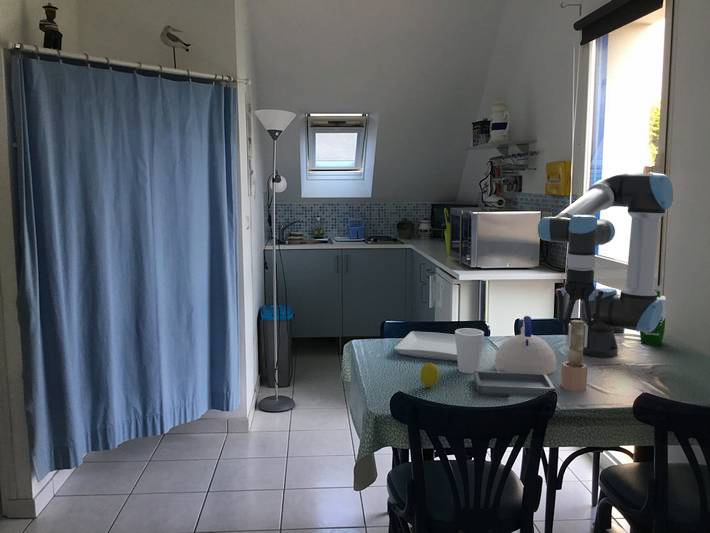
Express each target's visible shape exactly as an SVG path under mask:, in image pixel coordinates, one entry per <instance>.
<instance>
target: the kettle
mask: <svg viewBox="0 0 710 533" xmlns="http://www.w3.org/2000/svg"><path fill="white" fill-rule="evenodd" d="M522 319H523V320H522V321H523V322H522V327H520V334H517V335H513V336H511V337H509V338H507V339H506V340H504V341H503V342H502V344H501V345H500V346H498V349H497V351H496V353H495V359H494V365H493V368H494V369H495V370H496V372H501V371H502V372H518V373H544V374H547V375H550V374H553V373H554V372H556V371H557V357H556V355H555V353H554V350H553V349H552V348H551V347H550V345H549V344H548V343H547V342H546V341H545V340H543V338H541V337H538V336H536V335H534V334H532V318H531V316H529V315H525V316H523V318H522Z"/></svg>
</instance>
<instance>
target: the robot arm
mask: <svg viewBox="0 0 710 533" xmlns="http://www.w3.org/2000/svg"><path fill="white" fill-rule="evenodd" d="M673 201H674V189H673V184H672V181H671V179H670V178H669V176H668V175H666V174H664V173H658V172H657V173H655V172H642V173H641V172H640V173H639V172H637V173H636V172H634V173H633V172H629V173H627V172H620V173H616V174H612V175H608V176H607V177H604V178H602V179H600V180H598V181H596V182H595V183H593V184H592V185H590V187H589V188H588V189H587V191H586V193H585V194H584V195H582V196H581V197H580V198H578V199H577V200H576V201H575V202H573V203H571V204H570V205H568V207H566V208H565V209H563V210H562V211H561V212H560V213H558V214H557V215H555V216H544V217H542V218H540V220H539V222H538V224H537V235H538V237H539V239H541V240H542V241H546V242H547V241H549V242H551V243H552V242H554V243H555V242H557V243H568V246H567V247H568V248H567V250H568V251H567V264H566V265H567V268H566V281H565V283H564V287H560V288H556V289H555V293H556V296H557V311H556V312H557V313H556V314H557V315H556V316H557V321H558V323H561V324H562V326H563V328H562V329H563V330H562V333H563V334H564V336H566V338H565V345H566V347H567V348H569V347H571V331H572V325H571V324H570V322H571V318H572V314H573V311H574V308H575V307H574V306H575V304H576V302H577V301H578V300H581V302H580V316H579V317H580V320H581V321H584V322H585V328H584V345H583V356H586V357H587V356H588V357H594V358H595V357H597V358H611V357H612V358H613V357H615V356H617V355H618V352H619V347H618V343H617V339H616V336H615V333H614V332H615V328H620V329H624V330H625V329H626V330H630V331H635V332H637V333H638V332H639V333H640V331H641V332H651V331H653V330H654V329H655V328H656V326H657V325H658V323H659V321H660V318H661V315H662V310H663V306H662V301H660V300H659V299H657V293H656V292H655V291H654V290H655V289H654V283H655V282H654V280H655V270H656V258H657V247H658V239H659V228H660V227H659V226H660V219H661V218H662V217H664V216H665V214H666V210H668V209H670V208H671V207H672V204H673ZM611 207H613V208H614V207H623V208H627V214H628V215H629V216H630V217H631V224H630V236H629V248H628V257H627V258H628V259H627V272H626V284H625V287H623V288H622V289H621V290H620V294H618V292H617V290H616V289H615V288H614V289H613V288H596V286H595V285H594V281H595V280H594V278H595V270H594V269H595V264H596V262H595V261H596V260H595V259H596V246H603V245H605V244H607V243H608V244H609V243H610V242H611V241H612V240H613V239H614V237H615V235H616V229H615V228H616V227H615V225H614V224H613V223H612V222H611V221H610V220H608V219H600V218H597V217H596V215H597V214H598V213H600V212H601V211H604V210H605V211H606V210H608V209H609V208H611ZM565 293H567V295H568V296H569V297H568V302H567V306H566V310H565V314H564V296H565Z"/></svg>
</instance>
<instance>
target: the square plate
mask: <svg viewBox="0 0 710 533" xmlns="http://www.w3.org/2000/svg"><path fill="white" fill-rule="evenodd" d="M393 349H394V350H395V351H396V352H397V353H399V354H401V355H404V356H405V355H406V356H410V357H415V358H422V357H424V358H425V359H433V360H441V361H443V360H444V361H453V362H456V361H457V362H458V360H457V349H456V339H455V334H451V333H443V332H441V333H440V332H430V331H429V332H427V331H414V330H413V331H410V332H409V333H408V334H407V335H406V336H404V338H403V339H401V341H400V342H399V343H398V344H396V345H395V346H394V347H393Z"/></svg>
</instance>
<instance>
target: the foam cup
mask: <svg viewBox="0 0 710 533" xmlns="http://www.w3.org/2000/svg"><path fill="white" fill-rule="evenodd" d="M454 335H455V339H456V349H457V360H458V361H457V366H458V367H457V368H458V371H459V372H460V373H464V374H474V371H479V366H480V361H481V355H482V349H483V343H484V341H485V340H484V339H485V338H484V337H485V331H483V330H481V329H477V328H470V327H469V328H467V327H465V328H457V329H456V330H455V331H454Z"/></svg>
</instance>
